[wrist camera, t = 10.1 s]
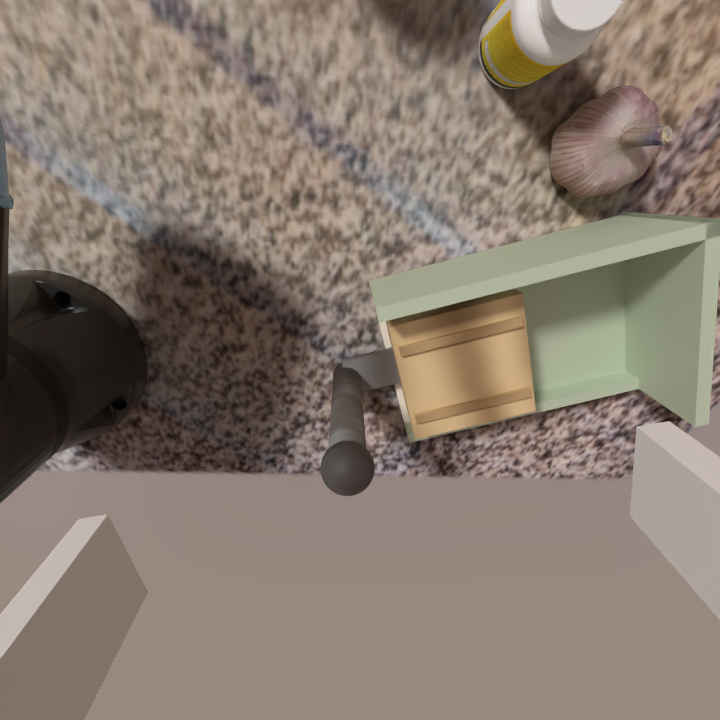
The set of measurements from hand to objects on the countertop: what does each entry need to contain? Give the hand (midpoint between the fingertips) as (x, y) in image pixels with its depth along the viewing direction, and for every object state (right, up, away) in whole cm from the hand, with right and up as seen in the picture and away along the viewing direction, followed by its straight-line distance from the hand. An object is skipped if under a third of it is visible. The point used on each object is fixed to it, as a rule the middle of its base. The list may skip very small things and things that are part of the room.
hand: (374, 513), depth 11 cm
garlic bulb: (+17, +20, +22) cm, 35 cm away
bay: (+13, +7, +27) cm, 31 cm away
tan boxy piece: (+5, +4, +27) cm, 27 cm away
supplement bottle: (+11, +26, +19) cm, 34 cm away
